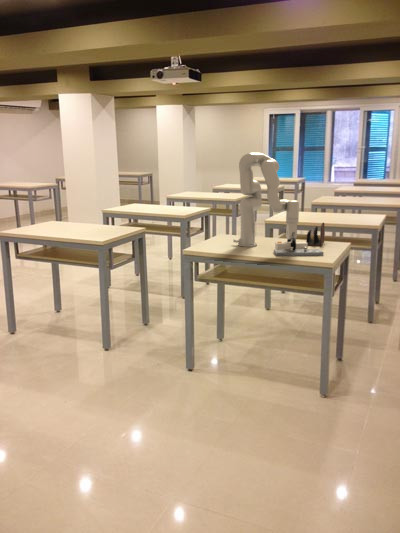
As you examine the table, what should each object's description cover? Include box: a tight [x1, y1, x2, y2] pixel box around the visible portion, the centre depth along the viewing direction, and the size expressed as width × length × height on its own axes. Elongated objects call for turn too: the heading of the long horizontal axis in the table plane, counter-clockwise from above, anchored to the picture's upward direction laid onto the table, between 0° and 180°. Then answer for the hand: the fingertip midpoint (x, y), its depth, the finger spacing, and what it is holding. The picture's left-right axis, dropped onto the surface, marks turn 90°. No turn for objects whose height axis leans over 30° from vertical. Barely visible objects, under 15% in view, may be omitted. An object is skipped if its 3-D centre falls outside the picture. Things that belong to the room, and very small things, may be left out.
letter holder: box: [305, 222, 325, 247], centre depth 328 cm, size 10×20×14 cm, turn 161°
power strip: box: [274, 241, 308, 249], centre depth 306 cm, size 19×6×6 cm, turn 92°
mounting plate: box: [273, 246, 325, 257], centre depth 296 cm, size 28×10×4 cm, turn 92°
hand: (291, 247), depth 306 cm, fingers open, 9 cm apart
